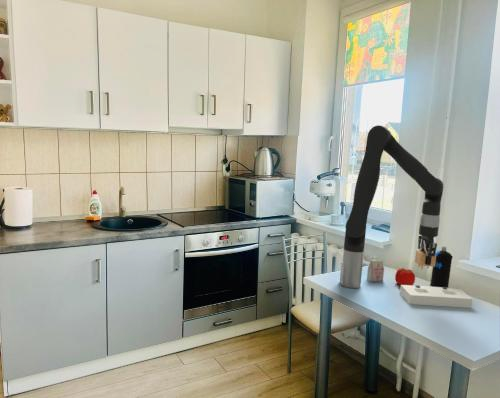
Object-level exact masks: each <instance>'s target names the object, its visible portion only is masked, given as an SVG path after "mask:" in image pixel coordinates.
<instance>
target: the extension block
mask: <svg viewBox="0 0 500 398" xmlns="http://www.w3.org/2000/svg"><path fill="white" fill-rule="evenodd" d="M399 294H400V295H401V296H402V297H403V298H404V299H405V301H406V302H407V304H409V305H422V306H437V307H454V308H466V309H469V308H470V309H471V308H472V306H473V305H472V304H473V298H472V297H471V296H469V295H468V294H466V293H465V292H464V291H463V290H461V289H460V288H458V287H456V288H454V287H449V288H446V287H432V286H427V285H426V286H425V285H424V286H423V285H419V284H418V285H400V289H399Z"/></svg>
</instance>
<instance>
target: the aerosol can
mask: <svg viewBox="0 0 500 398" xmlns="http://www.w3.org/2000/svg"><path fill="white" fill-rule="evenodd" d="M435 255H436V261H435V266H432V272H431V278H430V284H429V287H446V288H450V287H449V286H450V285H449V283H450V276H451V268H452V263H453V262H452V260H453V255H452V254H451V253H450V252H449V251H447V246H444V245H443V246H441V250H438V251H437V250H436V252H435Z"/></svg>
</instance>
